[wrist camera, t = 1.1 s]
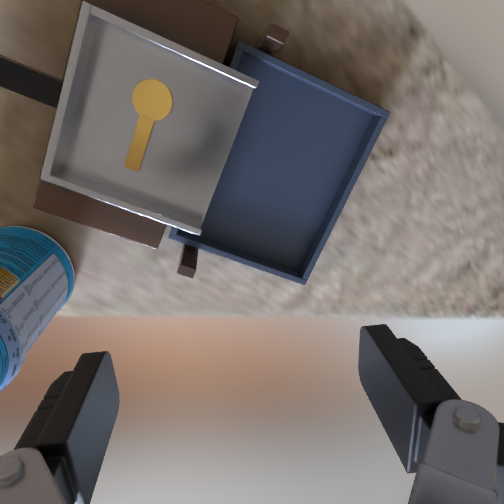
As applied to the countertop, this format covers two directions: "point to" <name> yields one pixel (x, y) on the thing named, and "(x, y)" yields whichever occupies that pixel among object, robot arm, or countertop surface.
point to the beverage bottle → (28, 292)
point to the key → (147, 116)
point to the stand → (183, 33)
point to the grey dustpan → (136, 119)
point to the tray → (286, 169)
